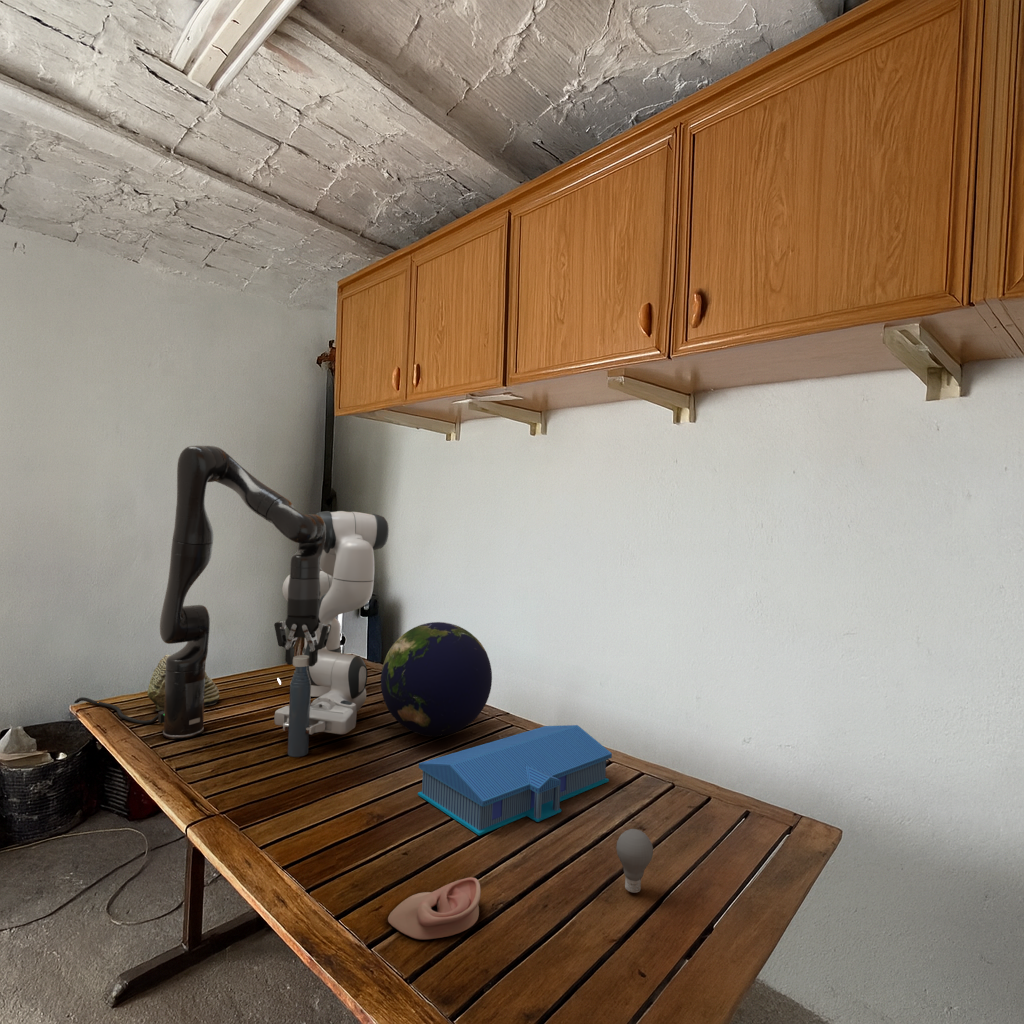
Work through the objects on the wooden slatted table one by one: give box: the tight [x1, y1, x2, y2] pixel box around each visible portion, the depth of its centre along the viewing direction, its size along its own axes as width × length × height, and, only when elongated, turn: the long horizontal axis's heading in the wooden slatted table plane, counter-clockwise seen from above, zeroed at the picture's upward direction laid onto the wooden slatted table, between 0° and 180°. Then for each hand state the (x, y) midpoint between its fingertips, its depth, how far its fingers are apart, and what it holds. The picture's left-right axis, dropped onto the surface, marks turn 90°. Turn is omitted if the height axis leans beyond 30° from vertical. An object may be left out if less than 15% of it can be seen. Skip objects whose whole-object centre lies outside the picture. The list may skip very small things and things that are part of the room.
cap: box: [292, 654, 309, 667], centre depth 155 cm, size 4×4×2 cm
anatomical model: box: [387, 877, 482, 940], centre depth 97 cm, size 13×4×12 cm
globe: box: [380, 621, 493, 737], centre depth 172 cm, size 30×30×30 cm
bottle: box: [287, 666, 312, 758], centre depth 155 cm, size 5×5×23 cm
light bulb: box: [615, 828, 654, 894], centre depth 106 cm, size 6×6×10 cm
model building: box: [417, 724, 613, 837], centre depth 140 cm, size 39×24×10 cm, turn 132°
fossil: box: [147, 654, 221, 712], centre depth 185 cm, size 9×18×15 cm, turn 132°
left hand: (301, 664), depth 155 cm, fingers open, 5 cm apart
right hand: (296, 729), depth 155 cm, fingers closed on bottle, 5 cm apart
